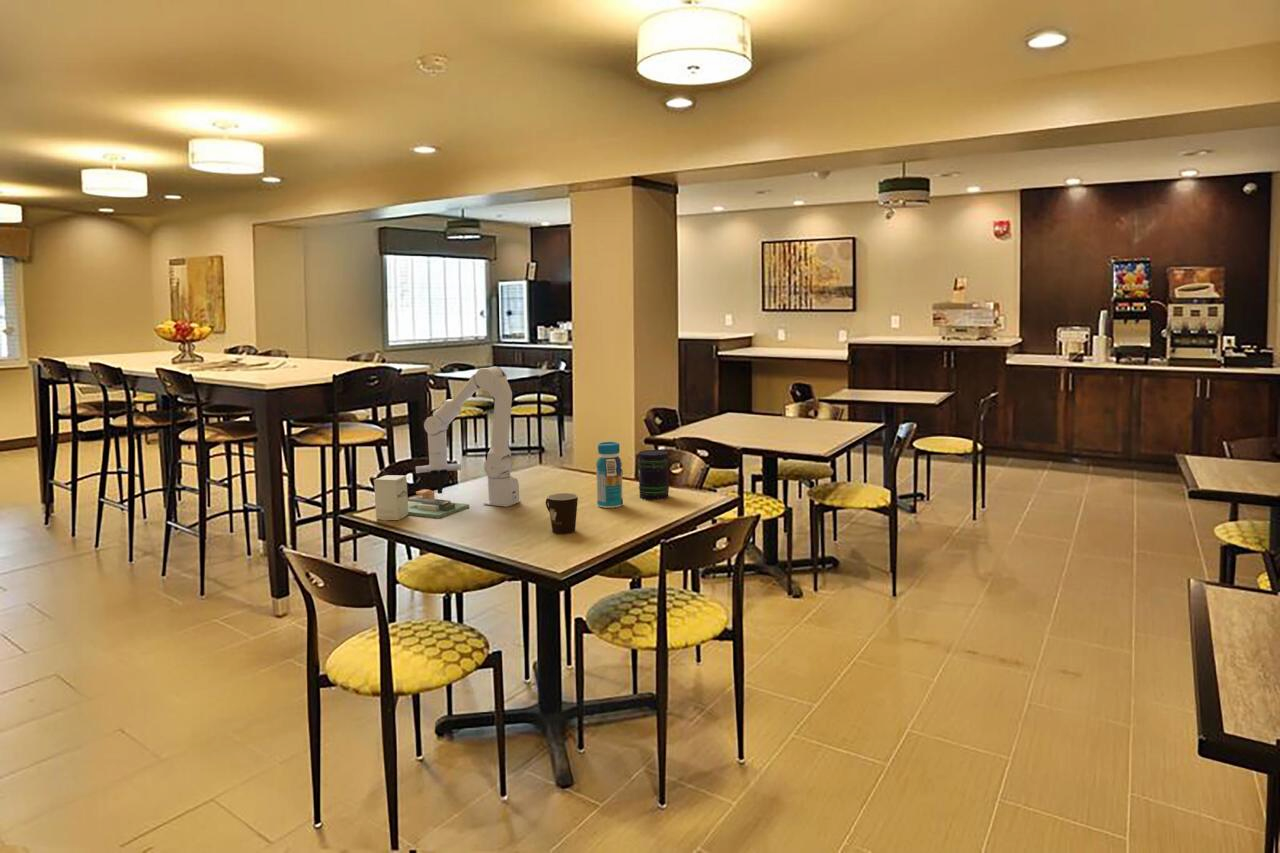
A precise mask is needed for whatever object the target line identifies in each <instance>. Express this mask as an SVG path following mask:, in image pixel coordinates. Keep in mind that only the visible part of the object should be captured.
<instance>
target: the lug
mask: <svg viewBox="0 0 1280 853" xmlns="http://www.w3.org/2000/svg"><path fill="white" fill-rule="evenodd" d="M415 495H418V496H419V495H420V496H422V497H421V498H430V499H436V497H435V491H433V490H431V489H420V490H418V491H415Z"/></svg>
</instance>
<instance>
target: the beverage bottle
mask: <svg viewBox="0 0 1280 853" xmlns="http://www.w3.org/2000/svg"><path fill="white" fill-rule="evenodd" d="M597 453H598V455H599V457H598V459H597V460H596V464H595V466H596V471H595V476H596V492H597V493H596V495H597V498H596V499H597V500H596V504H597V506H598V507H600V508H602V507H603V509H615V507H616V508H620V507H621V506H623V504H624V499H623V498H624V496H623V473H624V472H623V471H624V470H623V469H622V466H623V462H622V459H621V458H620V457H619V454H620V443H619V442H617V441H604V442H599V443H598V444H597Z"/></svg>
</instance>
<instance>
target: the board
mask: <svg viewBox="0 0 1280 853" xmlns="http://www.w3.org/2000/svg"><path fill="white" fill-rule="evenodd" d="M468 507H469V508H470V504H469V503H460V502H451V503H448V504H445V505H437V504H428V503H419V502H412V503H410V504H408V516H413V515H415V516H414V517H422V516H425V517H424V518H431V517H436V518H435V519H441V518H444V517H446V516H445V515H447V516H449V514H450V515H452V514H455V513H457V511H458V512H460V510H461V511H463V509H464V510H465V508H466V509H469V508H468ZM443 516H444V517H443ZM440 517H441V518H440Z"/></svg>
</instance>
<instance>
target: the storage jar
mask: <svg viewBox="0 0 1280 853" xmlns="http://www.w3.org/2000/svg"><path fill="white" fill-rule="evenodd" d="M638 470H639V481H638V483H639V484H638V490H639V499H641V498H642V499H641V500H644V499H646V500H645V501H663V500H666V498H667V499H669V497H670V496H669V491H670V485H669V484H670V483H669V478H668V476H669V475H668V474H669V471H668V470H669V451H668V450H663V449H662V450H661V449H646V450H645V449H644V450H642V451H638ZM662 499H663V500H662Z"/></svg>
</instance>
